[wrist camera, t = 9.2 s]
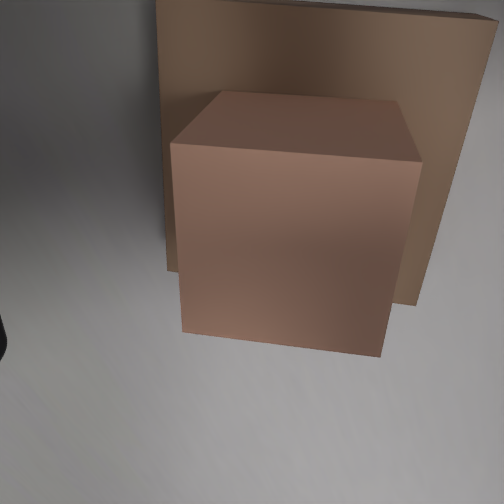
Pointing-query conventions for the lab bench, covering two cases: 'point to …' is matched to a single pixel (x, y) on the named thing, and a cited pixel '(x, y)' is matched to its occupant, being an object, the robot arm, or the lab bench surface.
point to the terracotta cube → (293, 218)
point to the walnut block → (331, 82)
